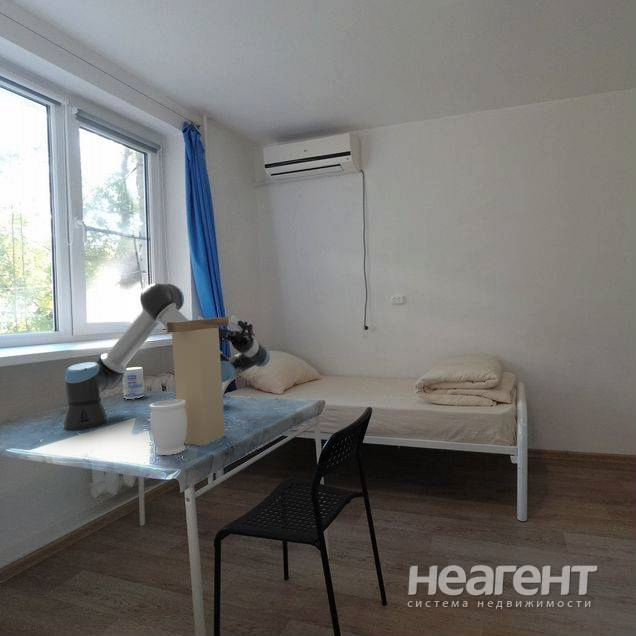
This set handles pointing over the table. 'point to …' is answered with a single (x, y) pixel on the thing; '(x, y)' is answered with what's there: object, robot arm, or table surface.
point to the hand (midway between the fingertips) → (215, 318)
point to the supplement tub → (133, 383)
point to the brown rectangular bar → (196, 324)
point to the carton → (199, 383)
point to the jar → (168, 426)
